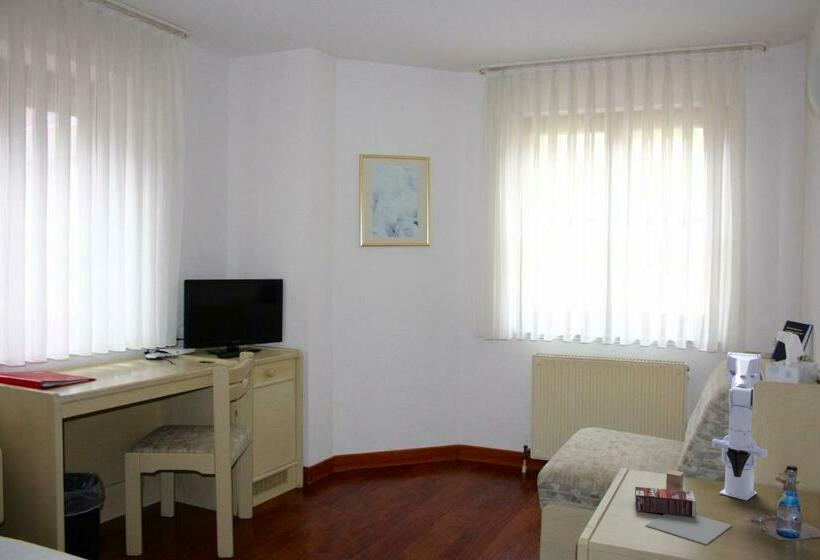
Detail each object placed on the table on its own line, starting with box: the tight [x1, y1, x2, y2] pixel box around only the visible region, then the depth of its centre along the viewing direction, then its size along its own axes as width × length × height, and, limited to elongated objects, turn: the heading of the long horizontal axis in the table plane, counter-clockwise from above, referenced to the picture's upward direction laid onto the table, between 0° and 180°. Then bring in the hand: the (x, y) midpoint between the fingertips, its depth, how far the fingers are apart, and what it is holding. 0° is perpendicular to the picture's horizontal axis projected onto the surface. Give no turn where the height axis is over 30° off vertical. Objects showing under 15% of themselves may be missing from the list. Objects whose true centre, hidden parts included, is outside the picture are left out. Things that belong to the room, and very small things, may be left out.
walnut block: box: [665, 469, 684, 491], centre depth 208 cm, size 4×4×7 cm
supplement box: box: [634, 486, 697, 517], centre depth 195 cm, size 9×5×16 cm
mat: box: [645, 513, 733, 546], centre depth 184 cm, size 18×16×1 cm
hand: (737, 476), depth 195 cm, fingers closed
